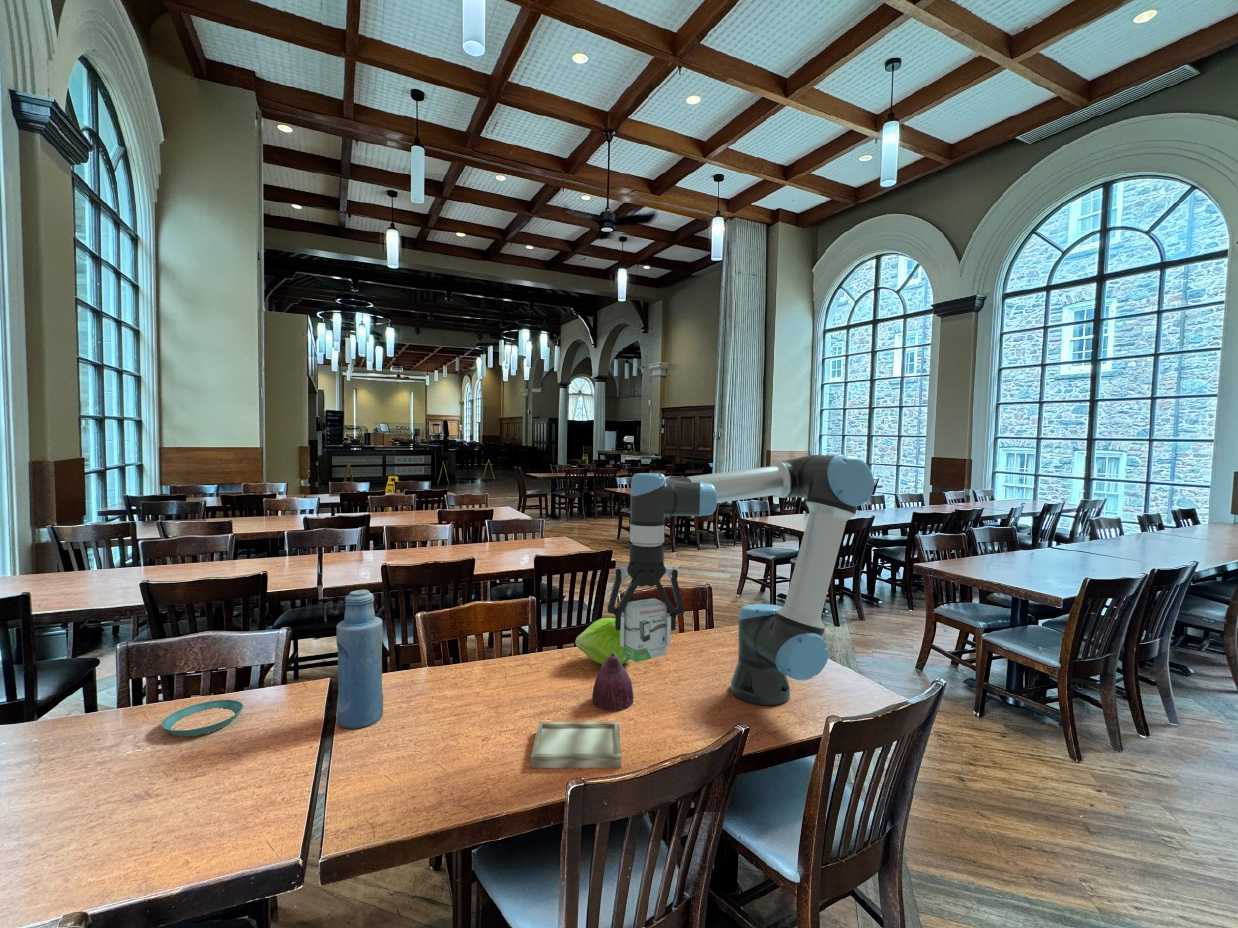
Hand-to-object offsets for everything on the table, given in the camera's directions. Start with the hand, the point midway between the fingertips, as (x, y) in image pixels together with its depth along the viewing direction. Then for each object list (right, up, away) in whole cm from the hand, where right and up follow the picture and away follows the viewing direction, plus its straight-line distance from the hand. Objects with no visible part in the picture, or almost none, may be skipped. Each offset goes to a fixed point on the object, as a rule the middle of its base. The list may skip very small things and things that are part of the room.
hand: (645, 644), depth 122 cm
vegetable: (-7, -20, +17) cm, 28 cm away
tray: (-15, -21, -5) cm, 26 cm away
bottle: (-66, -20, +6) cm, 69 cm away
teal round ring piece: (-100, -20, +3) cm, 102 cm away
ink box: (0, -3, 0) cm, 3 cm away
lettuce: (-9, -20, +42) cm, 48 cm away
